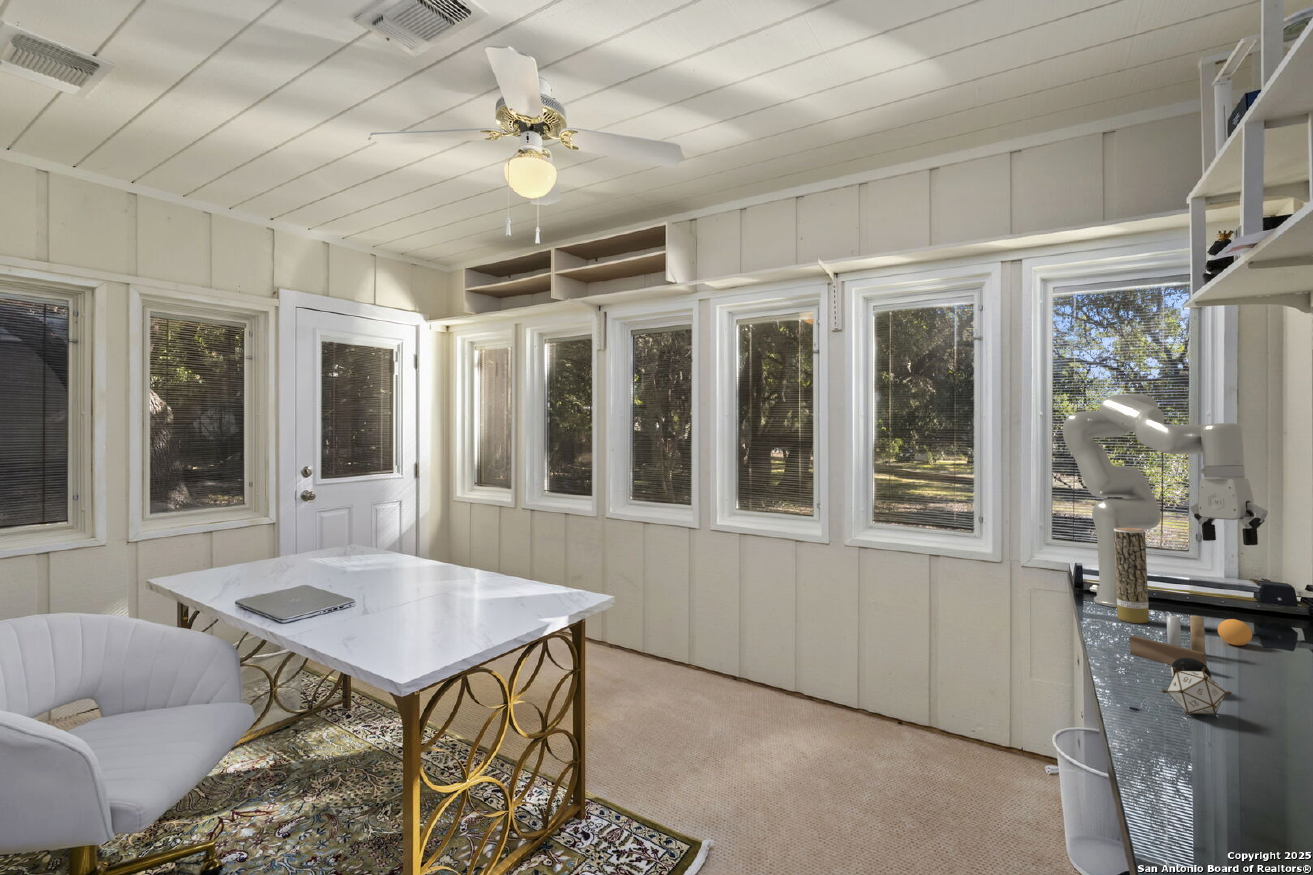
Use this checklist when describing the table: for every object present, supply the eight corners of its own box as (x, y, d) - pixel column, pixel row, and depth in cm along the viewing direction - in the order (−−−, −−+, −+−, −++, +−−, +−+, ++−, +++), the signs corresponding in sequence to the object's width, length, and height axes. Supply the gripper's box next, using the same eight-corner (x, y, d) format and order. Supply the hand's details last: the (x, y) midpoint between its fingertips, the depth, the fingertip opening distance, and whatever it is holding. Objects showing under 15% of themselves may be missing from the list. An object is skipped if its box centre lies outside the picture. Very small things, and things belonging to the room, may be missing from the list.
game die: (1184, 734, 111) (1139, 682, 115) (1209, 709, 114) (1165, 659, 118) (1230, 728, 103) (1180, 673, 107) (1256, 702, 106) (1207, 649, 110)
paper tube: (1155, 624, 165) (1151, 530, 165) (1129, 624, 165) (1125, 531, 165) (1136, 617, 172) (1132, 527, 172) (1111, 617, 172) (1107, 527, 172)
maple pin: (1188, 653, 142) (1187, 616, 142) (1196, 652, 142) (1195, 615, 143) (1200, 656, 139) (1198, 618, 140) (1208, 655, 140) (1206, 617, 140)
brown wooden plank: (1134, 652, 143) (1133, 635, 143) (1207, 672, 130) (1206, 653, 130) (1130, 653, 142) (1129, 636, 143) (1203, 673, 130) (1202, 654, 130)
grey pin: (1165, 652, 142) (1163, 615, 143) (1173, 651, 143) (1171, 615, 143) (1176, 656, 140) (1174, 618, 140) (1184, 655, 141) (1182, 617, 141)
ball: (1211, 642, 149) (1210, 617, 149) (1230, 639, 150) (1229, 615, 150) (1240, 649, 143) (1238, 623, 143) (1259, 647, 144) (1258, 621, 145)
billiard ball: (1168, 681, 126) (1167, 651, 126) (1207, 686, 123) (1205, 656, 123) (1175, 691, 121) (1174, 660, 121) (1215, 697, 118) (1214, 665, 118)
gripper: (1177, 473, 160) (1181, 539, 160) (1248, 473, 143) (1254, 547, 142) (1202, 472, 161) (1207, 538, 160) (1276, 472, 144) (1282, 546, 143)
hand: (1229, 542), depth 151 cm, fingers open, 9 cm apart
